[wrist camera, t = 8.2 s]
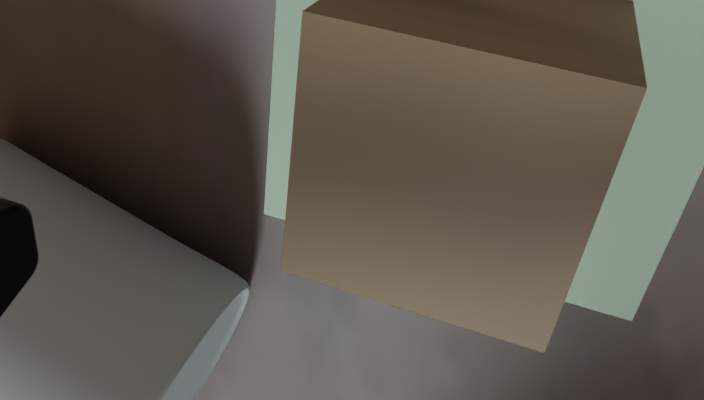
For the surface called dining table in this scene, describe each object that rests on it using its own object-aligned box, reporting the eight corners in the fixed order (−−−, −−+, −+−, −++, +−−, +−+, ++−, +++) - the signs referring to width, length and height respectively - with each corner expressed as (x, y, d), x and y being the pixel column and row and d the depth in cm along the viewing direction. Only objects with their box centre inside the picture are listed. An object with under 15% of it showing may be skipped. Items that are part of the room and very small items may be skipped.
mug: (259, 248, 20) (-51, 67, 20) (74, 532, 16) (-301, 302, 16) (244, 335, 31) (42, 216, 31) (131, 517, 27) (-97, 378, 27)
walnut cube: (559, 212, 16) (544, 353, 12) (359, 158, 17) (281, 271, 13) (632, 1, 13) (646, 88, 9) (390, -48, 14) (302, 10, 10)
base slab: (793, -130, 14) (835, -118, 11) (627, 255, 19) (631, 321, 17) (337, -199, 16) (288, -201, 13) (303, 166, 21) (263, 213, 19)
